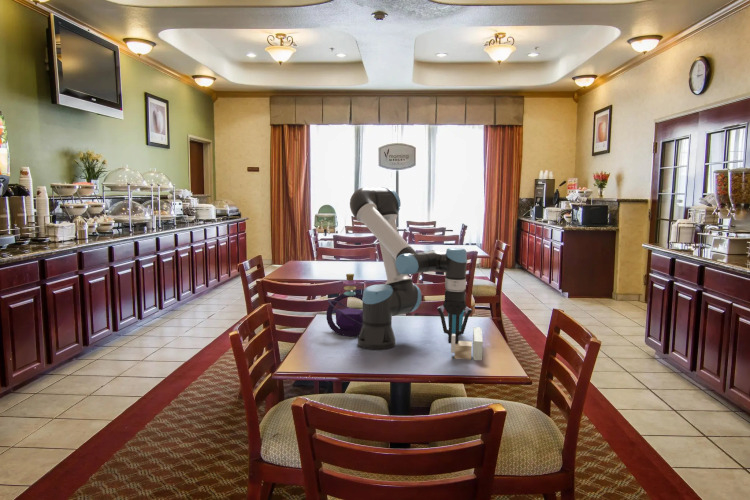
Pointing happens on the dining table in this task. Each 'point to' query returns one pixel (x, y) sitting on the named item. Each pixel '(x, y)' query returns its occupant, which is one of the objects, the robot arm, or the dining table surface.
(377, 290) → the robot arm
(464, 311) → the cup
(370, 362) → the dining table surface
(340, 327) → the decorative bottle
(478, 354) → the board
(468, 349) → the birch block
